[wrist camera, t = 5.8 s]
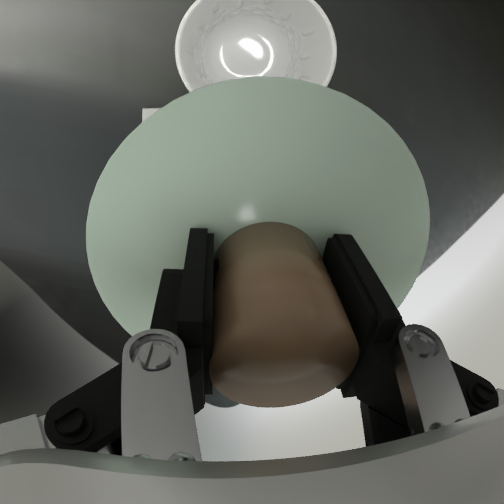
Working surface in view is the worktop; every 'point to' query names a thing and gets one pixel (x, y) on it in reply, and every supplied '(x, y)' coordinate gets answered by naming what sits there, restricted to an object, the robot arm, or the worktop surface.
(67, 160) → the worktop surface
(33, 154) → the worktop surface
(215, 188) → the lid
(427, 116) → the worktop surface
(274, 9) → the white cup
